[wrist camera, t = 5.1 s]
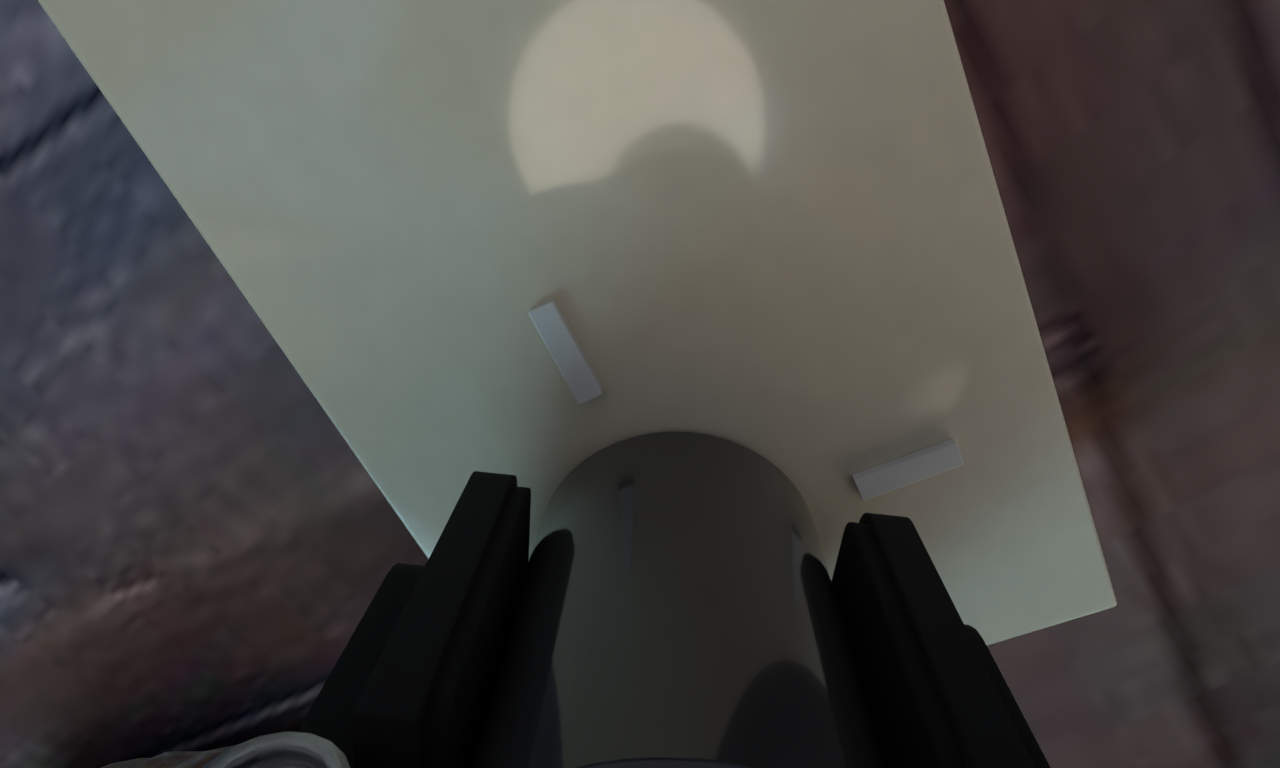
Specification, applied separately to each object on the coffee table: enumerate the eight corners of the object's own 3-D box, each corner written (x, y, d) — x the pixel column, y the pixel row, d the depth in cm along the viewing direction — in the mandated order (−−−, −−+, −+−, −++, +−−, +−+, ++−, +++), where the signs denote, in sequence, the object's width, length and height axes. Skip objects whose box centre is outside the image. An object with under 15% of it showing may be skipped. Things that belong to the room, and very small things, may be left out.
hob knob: (779, 394, 10) (887, 758, 5) (843, 627, 11) (978, 1098, 6) (497, 470, 10) (322, 860, 5) (592, 681, 12) (526, 1142, 7)
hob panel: (1039, 522, 14) (1135, 645, 11) (581, 674, 16) (558, 812, 13) (733, -432, 9) (759, -675, 6) (122, -29, 11) (-82, -62, 8)
